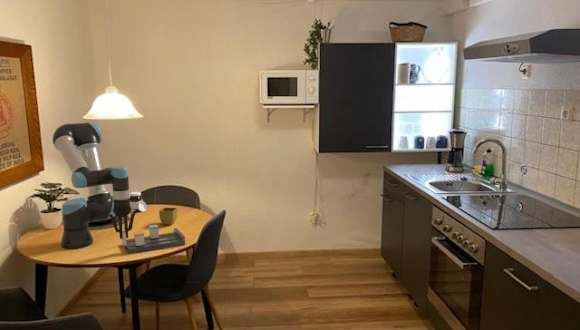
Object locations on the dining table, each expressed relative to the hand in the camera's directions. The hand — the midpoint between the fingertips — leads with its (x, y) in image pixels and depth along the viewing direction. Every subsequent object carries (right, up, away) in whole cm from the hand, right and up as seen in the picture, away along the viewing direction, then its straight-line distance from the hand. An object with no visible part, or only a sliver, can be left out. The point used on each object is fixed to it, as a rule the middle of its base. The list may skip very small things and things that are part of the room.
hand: (124, 244), depth 230 cm
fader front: (+6, 0, +4) cm, 7 cm away
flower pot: (+10, +4, +48) cm, 49 cm away
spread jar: (-18, +9, +77) cm, 80 cm away
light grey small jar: (+10, +1, +15) cm, 18 cm away
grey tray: (+11, -2, +11) cm, 16 cm away
